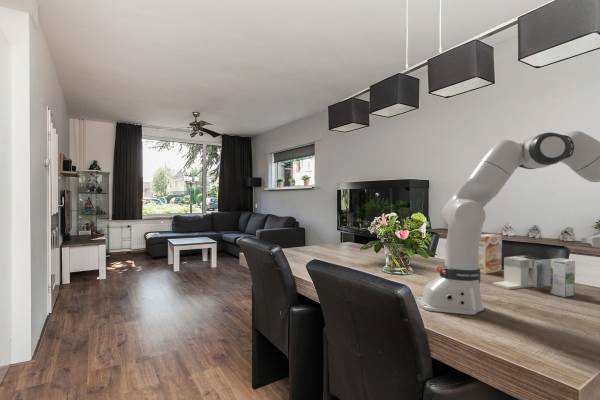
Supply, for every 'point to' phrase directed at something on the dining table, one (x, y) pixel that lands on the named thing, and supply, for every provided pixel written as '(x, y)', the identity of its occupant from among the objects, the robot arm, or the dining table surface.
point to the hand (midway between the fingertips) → (588, 238)
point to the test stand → (517, 273)
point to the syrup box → (562, 277)
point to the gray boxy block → (541, 271)
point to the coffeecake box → (490, 253)
